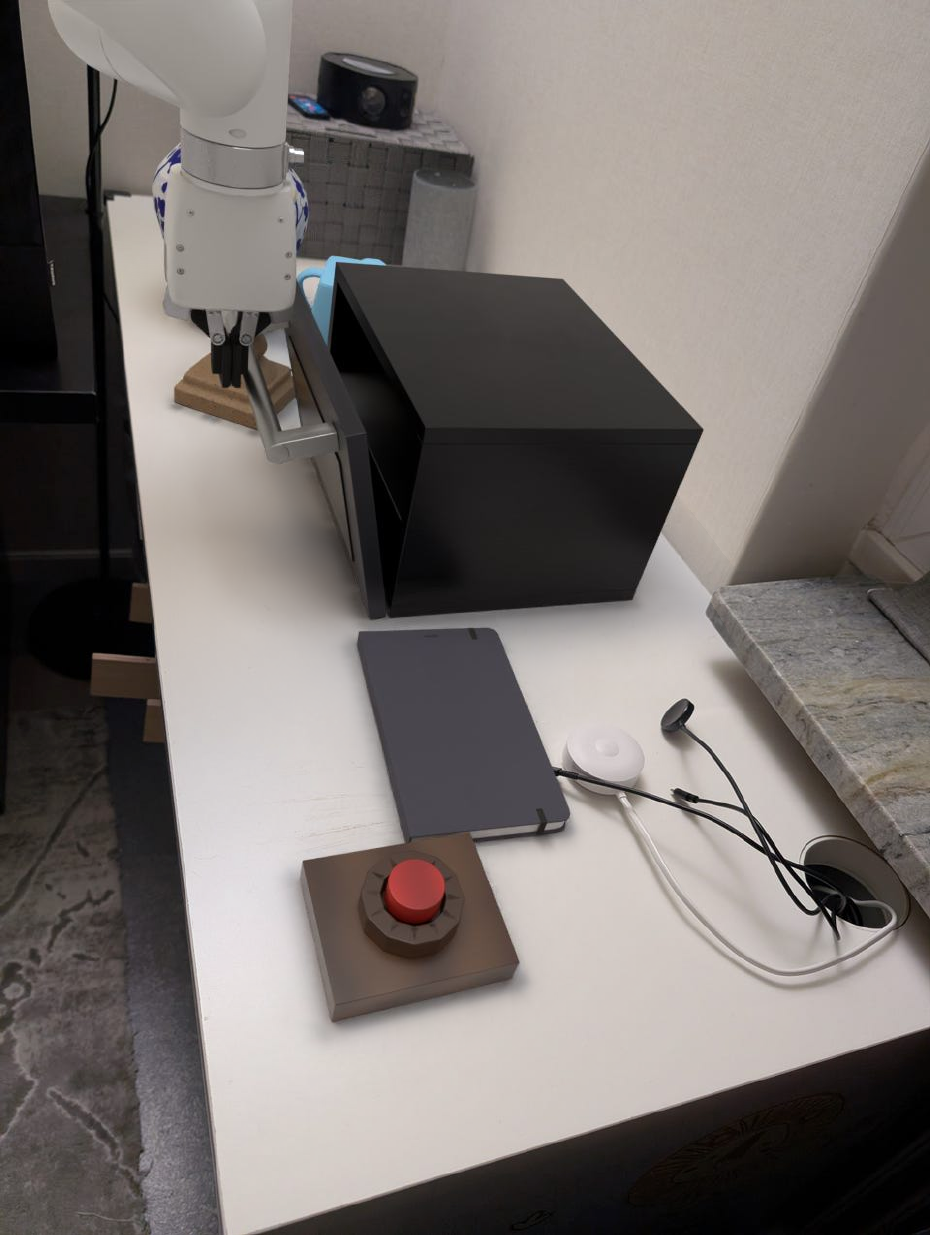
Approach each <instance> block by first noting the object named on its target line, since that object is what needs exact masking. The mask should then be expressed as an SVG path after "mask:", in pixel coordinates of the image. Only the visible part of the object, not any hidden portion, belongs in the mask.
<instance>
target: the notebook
mask: <svg viewBox="0 0 930 1235" xmlns="http://www.w3.org/2000/svg"><path fill="white" fill-rule="evenodd" d="M356 647H357V650H358V651H357V652H358V654H359V658H360V663H361V667H362V671H363V676H364V680H365V682H366V687H367V692H368V696H369V700H370V704H371V708H372V713H373V714H374V715H373V716H374V720H375V724H376V728H377V732H378V737H379V740H380V745H381V749H382V753H383V757H384V761H385V765H386V770H387V774H388V777H389V781H390V785H391V790H392V794H393V798H394V801H395V806H396V810H397V815H398V818H399V822H400V827H401V830H402V835H403V839H404V843H409V842H415V841H421V840H427V839H432V838H438V837H444V836H450V835H456V834H462V833H468V832H470V834H471V836H472V839H473V842H474V843H476V842H484V841H485V842H486V841H492V840H500V839H501V840H503V839H509V838H510V839H511V838H519V837H528V836H529V837H530V836H539V835H541V836H542V835H545V834H546V835H547V834H553V833H554V834H555V833H560V832H562V831H563V830H565V828H566V821H568V820H570V817H571V811H570V807H569V805H568V803H567V800H566V797H565V796H564V793H563V792H564V791H563V790H562V787H561V785H560V783H559V780H558V778H557V775H556V772H555V771H554V768H553V766H552V762H551V760H550V758H549V755H548V753H547V751H546V748H545V746H544V743H543V741H542V738H541V736H540V733H539V731H538V729H537V725H536V723H535V721H534V719H533V716H532V713H531V711H530V709H529V706H528V704H527V702H526V699H525V696H524V695H523V692H522V689H521V687H520V684H519V682H518V680H517V676H516V674H515V672H514V670H513V667H512V664H511V662H510V659H509V658H508V655H507V652H506V650H505V647H504V645H503V642H502V640H501V638H500V634H499V633H498V632H497V630H495V629H494V628H491V627H459V628H456V627H455V628H428V629H425V628H424V629H423V628H422V629H397V630H396V629H395V630H394V629H393V630H391V629H389V630H365V631H363V630H361V631H360V630H359V631H358V634H357V640H356Z"/></svg>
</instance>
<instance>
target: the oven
mask: <svg viewBox="0 0 930 1235" xmlns="http://www.w3.org/2000/svg"><path fill="white" fill-rule="evenodd" d="M334 276H335V277H334V284H333V294H332V304H331V313H330V323H329V332H328V342H327V347H328V349H329V352H330V354H331V356H332V358H333V360H334V363H335V365H336V367H337V369H338V371H339V374H340V376H341V378H342V380H343V382H344V385H345V387H346V389H347V391H348V393H349V396H350V398H351V400H352V402H353V404H354V407H355V409H356V411H357V413H358V415H359V418H360V420H361V422H362V424H363V426H364V429H365V431H366V434H367V443H368V452H369V461H370V470H371V479H372V488H373V497H374V506H375V515H376V524H377V533H378V542H379V551H380V560H381V569H382V578H383V587H384V596H385V605H386V614H387V616H388V618H389V619H391V618H392V619H393V618H405V617H418V616H433V615H447V614H459V613H472V612H474V613H475V612H486V611H487V612H488V611H500V610H515V609H527V608H528V609H529V608H541V607H553V606H569V605H581V604H592V603H593V604H594V603H608V602H609V603H610V602H619V601H633V599H634V597H635V595H636V592H637V589H638V587H639V585H640V583H641V580H642V578H643V576H644V573H645V571H646V568H647V566H648V563H649V561H650V559H651V557H652V554H653V552H654V550H655V547H656V544H657V543H658V541H659V537H660V535H661V533H662V531H663V528H664V525H665V523H666V521H667V519H668V516H669V514H670V512H671V509H672V507H673V504H674V502H675V500H676V497H677V494H678V493H679V490H680V488H681V484H682V483H683V480H684V478H685V475H686V473H687V471H688V468H689V466H690V464H691V463H692V462H691V461H692V459H693V457H694V454H695V452H696V450H697V447H698V444H699V442H700V440H701V438H702V435H703V433H704V430H705V428H703V427H702V426H701V425H700V423H699V422H698V421H697V420H696V419H695V418H694V417H693V416H692V414H690V413H689V411H687V410H686V408H684V406H683V405H682V404H681V403H680V402H679V401H678V400H677V399H676V398H675V397H674V396H673V395H672V394H671V392H670V391H669V390H668V389H667V388H666V387H665V386H664V385H663V384H662V383H661V382H660V381H659V380H658V379H657V377H656V376H654V374H653V373H652V372H651V371H650V370H649V369H648V368H647V367H646V366H645V365H644V363H642V362H641V361H640V359H639V358H638V357H637V356H636V355H635V354H634V353H633V352H632V351H631V349H630V348H629V347H627V345H626V344H625V343H624V342H623V341H622V340H621V339H620V338H619V337H618V336H617V335H616V334H615V332H613V331H612V330H611V328H610V327H609V326H608V325H607V324H606V323H605V322H604V321H603V320H602V318H601V317H599V315H598V314H596V312H595V311H594V310H593V309H592V308H591V307H590V306H589V305H588V303H586V301H584V299H582V298H581V296H580V295H579V294H578V293H577V292H576V291H575V290H574V288H572V287H571V286H570V284H568V283H567V282H566V280H565V278H559V277H557V278H556V277H546V276H545V277H544V276H532V275H531V276H529V275H518V274H517V275H516V274H504V273H491V272H479V271H478V272H477V271H476V272H475V271H463V270H450V269H438V268H437V269H436V268H424V267H412V266H411V267H410V266H399V265H397V266H396V265H386V266H385V265H372V264H359V263H345V262H336V265H335V275H334Z"/></svg>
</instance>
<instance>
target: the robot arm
mask: <svg viewBox="0 0 930 1235" xmlns="http://www.w3.org/2000/svg"><path fill="white" fill-rule="evenodd" d="M293 2H294V1H293V0H47V7H48V12H49V14H50V18H51V21H52V23H53V25H54V28H55V30H56V31H57V33H58V35H59V36H60V38H61V40H62V41H63V42H64V44H65V45H66V46H67V47H68V48H69V50H70V51H71V52H73V53H74V55H75V56H77V58H79V59H80V60H82V61H83V62H84V63H85V64H87V65H88V66H90V67H91V68H93V69H95V70H96V71H98V72H100V73H102V74H104V75H106V76H108V77H109V78H113V79H115V80H117V81H119V82H121V83H123V84H126V85H128V86H130V87H132V88H135V89H136V90H139V91H142V92H144V93H147V94H148V95H151V96H153V97H155V98H158V99H160V100H162V101H164V102H167V103H169V104H171V105H173V106H175V107H176V108H179V117H180V118H179V123H180V125H179V132H180V137H179V138H180V139H179V140H180V142H181V163H177V164H174V165H172V166H171V168H170V172H169V178H168V184H167V192H166V201H165V219H164V240H163V271H164V280H165V283H166V288H165V291H164V295H163V300H162V308H163V312H164V315H166V316H168V317H171V318H174V319H179V320H184V321H185V322H186V321H190V322H192V323H193V324H194V325H195V326H196V327H197V328H198V329H200V331H202V333H204V334H205V335H206V336H207V337H208V338H209V339H210V353H211V369H212V374H219V378H220V381H221V385H222V388H229V386H231V385H232V386H234V388H241V374H246V375H247V374H248V357H249V345H251V344H252V343H253V341H254V338H255V337H256V336H257V335H258V334H259V333H261V332H262V331H263V330H264V329H265V328H266V327H268V326H269V325H270V324H273V323H274V324H277V323H282V322H287V321H292V320H293V319H295V317H296V314H295V308H294V299H295V293H296V278H297V257H296V226H295V211H294V202H293V194H292V188H291V183H290V180H289V179H288V178H287V177H286V173H288V171H289V169H293V170H294V168H297V169H304V167H305V166H304V165H305V151H304V149H303V148H298V147H297V148H296V147H295V146H294V145H290V144H289V142H288V141H287V140H286V139H287V121H288V104H289V103H288V102H289V101H288V100H289V84H290V83H289V80H290V79H289V78H290V63H291V46H292V28H293V11H294V10H293V6H294V4H293ZM221 311H237V315H236V321H235V326H234V327H232V330H231V333H228V334H227V331H226V328H225V327H224V326H223V319H222V313H221Z"/></svg>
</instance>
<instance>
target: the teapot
mask: <svg viewBox="0 0 930 1235" xmlns="http://www.w3.org/2000/svg"><path fill="white" fill-rule="evenodd" d="M336 262H345V263H359V264H372V265H385V266H387V264H386V263H385V262H384V261H382V260H381V259H378V258H369V257H367V258H362V259H356V258H350V257H347V256H346V257H344V256H339V255H330V256H329V257H328V258H327V260H326V262H325V265H324V266H323V268H320V267H309V268H306V269H303V270H302V271H301V272H299V274H298V275H296V279H297V281H298V283H299V286H300V288H301V290H302V292H303V294H304V297H305V299H306V301H307V303H308V305H309V308H310V310H311V312H312V314H313V316H314V319H315V321H316V323H317V325H318V327H319V330H320V332H321V334H322V336H323V338H324V341H325V343H326V345H327V342H328V332H329V323H330V313H331V304H332V294H333V284H334V277H335V276H334V275H335V265H336ZM309 278H317V279H319V280H318V284H317V288H316V291H315V294H314V299H313V302H312V305H310V302H309V301H308V298H307V296H306V292H305V289H304V281H305V280H307V279H309ZM311 306H312V307H311Z"/></svg>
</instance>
